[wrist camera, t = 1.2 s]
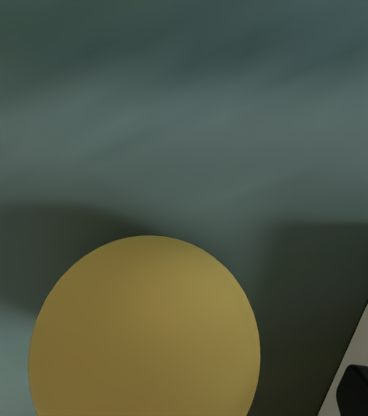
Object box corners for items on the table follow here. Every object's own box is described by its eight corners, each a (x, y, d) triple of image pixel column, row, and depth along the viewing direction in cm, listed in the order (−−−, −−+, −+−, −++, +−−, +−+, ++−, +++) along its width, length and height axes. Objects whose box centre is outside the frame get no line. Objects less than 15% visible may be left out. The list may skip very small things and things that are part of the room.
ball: (257, 218, 9) (336, 360, 5) (219, 355, 11) (250, 556, 7) (74, 190, 9) (-37, 316, 4) (66, 337, 11) (-18, 538, 6)
